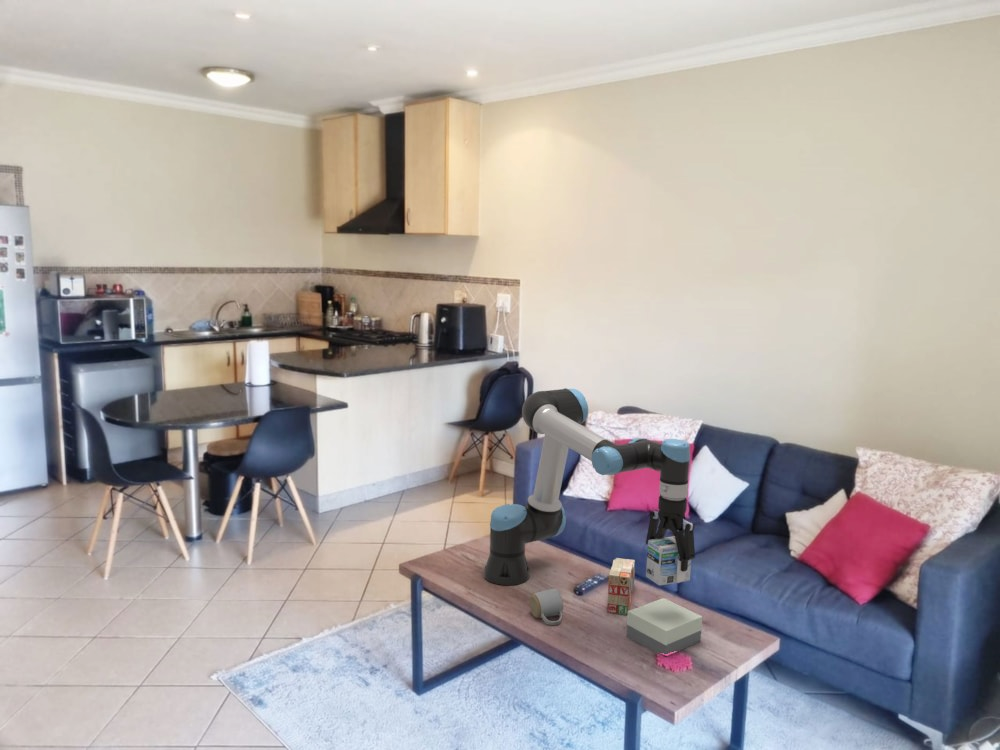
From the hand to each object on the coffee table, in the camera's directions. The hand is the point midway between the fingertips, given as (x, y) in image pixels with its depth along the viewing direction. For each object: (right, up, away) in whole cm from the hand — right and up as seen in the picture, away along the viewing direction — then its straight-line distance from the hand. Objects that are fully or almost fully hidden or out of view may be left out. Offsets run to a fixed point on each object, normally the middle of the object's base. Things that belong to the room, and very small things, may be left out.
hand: (668, 576), depth 207 cm
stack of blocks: (-9, -15, +28) cm, 33 cm away
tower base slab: (-1, -19, +3) cm, 19 cm away
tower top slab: (-1, -15, +3) cm, 15 cm away
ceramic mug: (-32, -16, +14) cm, 39 cm away
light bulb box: (0, -1, 0) cm, 1 cm away
